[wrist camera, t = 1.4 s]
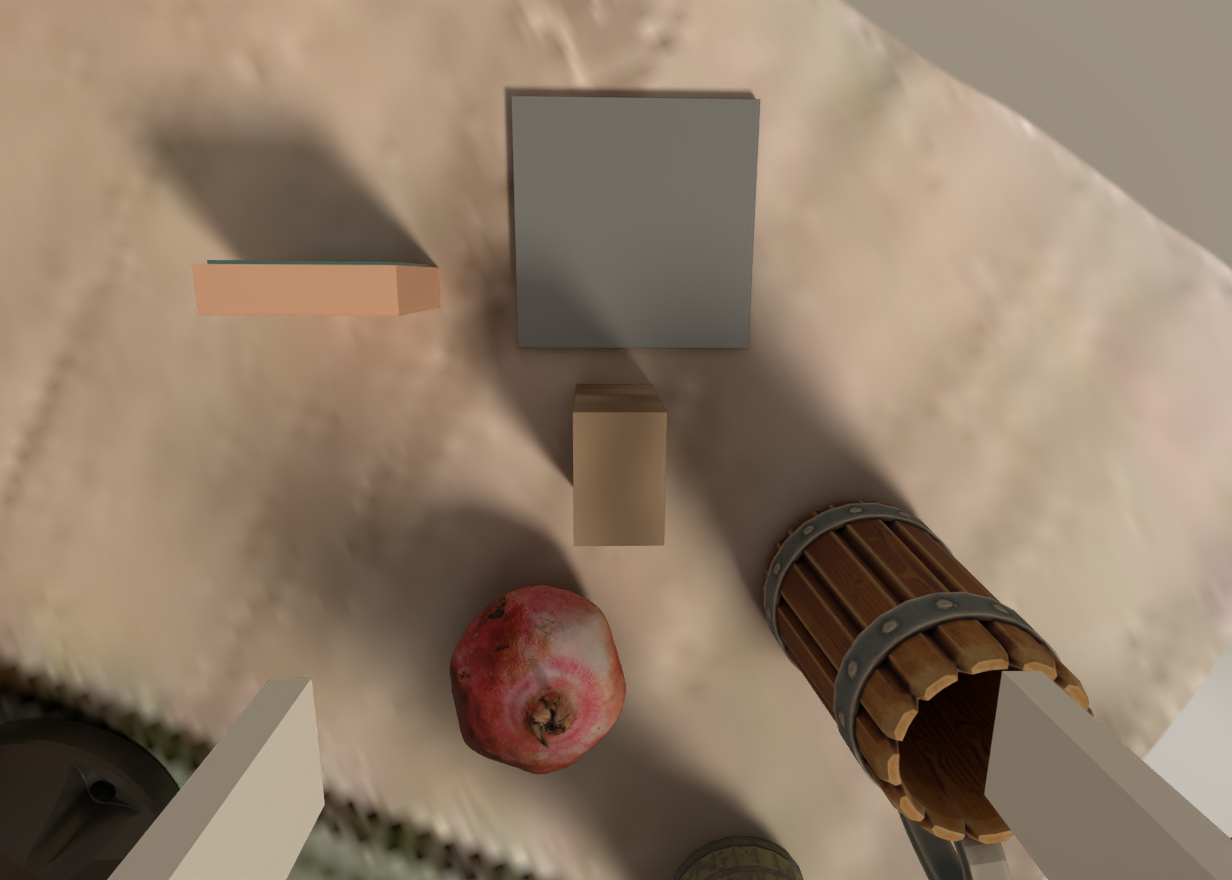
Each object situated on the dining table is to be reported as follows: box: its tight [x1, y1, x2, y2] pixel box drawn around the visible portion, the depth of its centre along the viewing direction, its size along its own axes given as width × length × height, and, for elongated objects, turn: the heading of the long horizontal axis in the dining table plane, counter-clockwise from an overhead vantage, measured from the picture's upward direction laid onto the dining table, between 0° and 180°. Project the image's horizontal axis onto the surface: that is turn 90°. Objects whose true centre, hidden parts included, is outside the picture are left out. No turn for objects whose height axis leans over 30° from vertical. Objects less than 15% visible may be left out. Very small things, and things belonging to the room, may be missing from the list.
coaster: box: [512, 96, 760, 348], centre depth 35 cm, size 12×12×1 cm
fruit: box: [450, 584, 626, 774], centre depth 36 cm, size 9×10×10 cm
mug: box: [762, 500, 1094, 880], centre depth 34 cm, size 16×11×15 cm
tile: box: [192, 260, 441, 316], centre depth 32 cm, size 8×2×8 cm, turn 90°
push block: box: [573, 384, 667, 546], centre depth 34 cm, size 4×6×8 cm, turn 0°
